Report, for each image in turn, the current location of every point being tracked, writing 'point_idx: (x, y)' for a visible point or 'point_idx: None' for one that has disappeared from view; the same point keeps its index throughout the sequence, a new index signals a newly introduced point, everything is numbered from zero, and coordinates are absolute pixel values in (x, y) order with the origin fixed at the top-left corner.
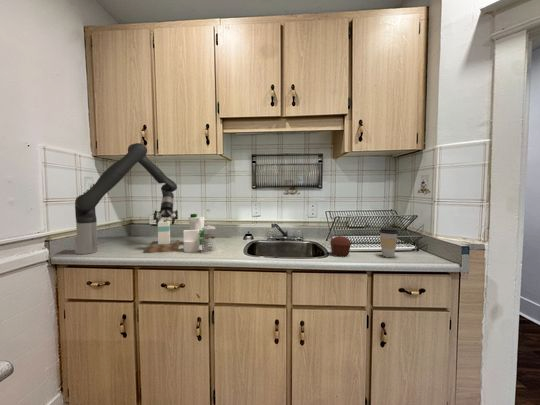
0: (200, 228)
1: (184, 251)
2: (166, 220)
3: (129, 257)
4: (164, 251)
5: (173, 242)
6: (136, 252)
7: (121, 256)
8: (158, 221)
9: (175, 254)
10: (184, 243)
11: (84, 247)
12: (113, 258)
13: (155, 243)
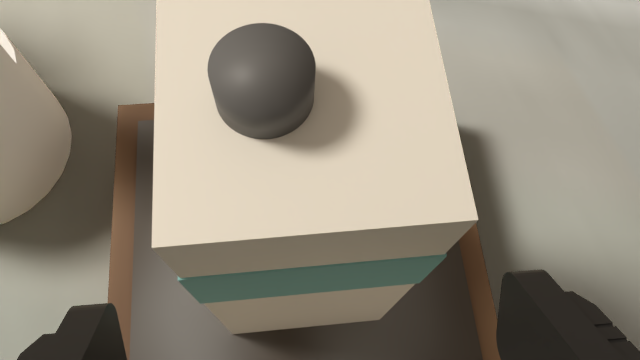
0: None
1: (64, 111)
2: (222, 44)
3: (521, 7)
4: None
5: None
6: (551, 164)
7: (609, 48)
8: (545, 354)
9: (149, 23)
10: (22, 57)
11: None
12: (636, 3)
13: None
